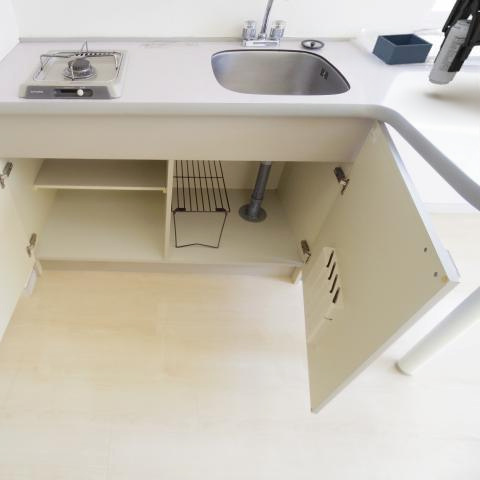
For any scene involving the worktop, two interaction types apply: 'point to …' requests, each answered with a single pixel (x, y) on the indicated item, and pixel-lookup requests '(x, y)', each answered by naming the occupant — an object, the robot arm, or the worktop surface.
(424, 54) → the bin
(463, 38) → the energy drink can
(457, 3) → the robot arm
